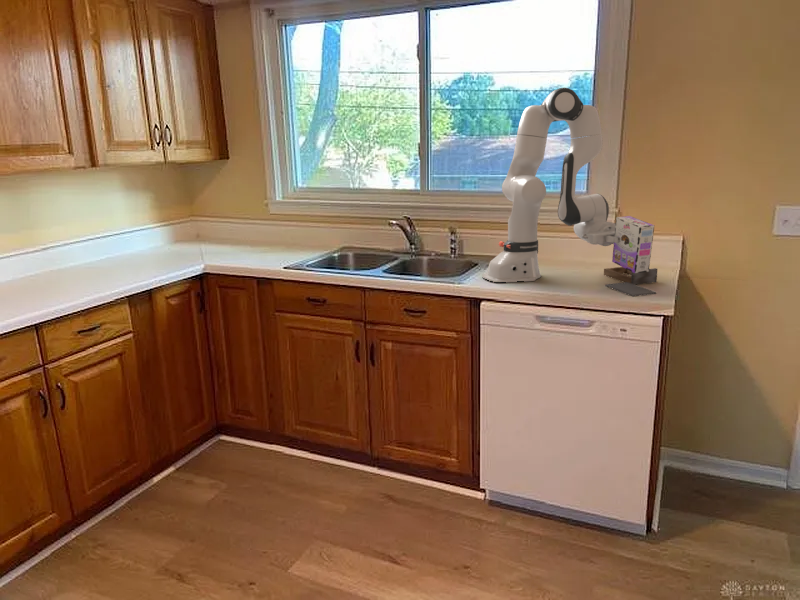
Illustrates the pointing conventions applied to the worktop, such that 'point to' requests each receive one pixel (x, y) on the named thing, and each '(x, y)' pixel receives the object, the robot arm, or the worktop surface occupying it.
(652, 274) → the holder
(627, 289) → the mat
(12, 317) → the worktop surface
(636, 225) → the candy box
